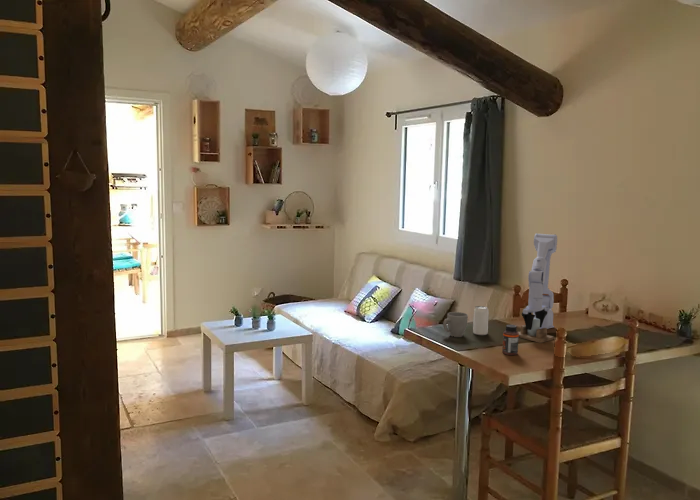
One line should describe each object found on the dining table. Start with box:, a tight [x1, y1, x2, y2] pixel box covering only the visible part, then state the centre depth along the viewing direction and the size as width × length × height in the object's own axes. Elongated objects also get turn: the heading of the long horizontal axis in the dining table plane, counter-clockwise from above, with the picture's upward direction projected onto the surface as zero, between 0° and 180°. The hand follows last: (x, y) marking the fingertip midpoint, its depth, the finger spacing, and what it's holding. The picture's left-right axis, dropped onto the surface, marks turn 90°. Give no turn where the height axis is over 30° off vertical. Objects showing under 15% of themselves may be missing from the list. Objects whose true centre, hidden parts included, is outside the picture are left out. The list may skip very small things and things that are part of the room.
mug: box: [442, 311, 469, 338], centre depth 264 cm, size 12×9×10 cm
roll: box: [527, 318, 540, 336], centre depth 264 cm, size 5×5×7 cm
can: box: [472, 305, 490, 336], centre depth 269 cm, size 6×6×12 cm
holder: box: [518, 324, 555, 344], centre depth 265 cm, size 10×14×5 cm
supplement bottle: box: [502, 324, 520, 356], centre depth 239 cm, size 6×6×11 cm
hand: (533, 328), depth 264 cm, fingers open, 7 cm apart
